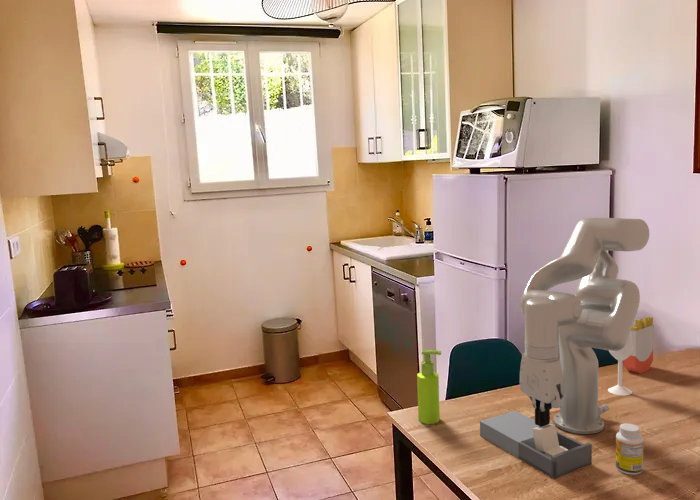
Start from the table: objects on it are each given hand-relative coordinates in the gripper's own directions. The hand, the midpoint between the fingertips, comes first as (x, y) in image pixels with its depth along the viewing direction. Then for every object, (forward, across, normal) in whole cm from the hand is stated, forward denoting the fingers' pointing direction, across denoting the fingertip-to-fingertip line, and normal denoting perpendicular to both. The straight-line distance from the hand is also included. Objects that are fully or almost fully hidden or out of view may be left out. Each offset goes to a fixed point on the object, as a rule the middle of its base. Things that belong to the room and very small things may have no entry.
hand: (542, 424), depth 137 cm
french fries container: (+9, -25, +68) cm, 73 cm away
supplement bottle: (+8, +15, +11) cm, 20 cm away
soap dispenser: (+8, -31, -11) cm, 34 cm away
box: (+8, +4, 0) cm, 9 cm away
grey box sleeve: (+8, -9, 0) cm, 12 cm away
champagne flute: (+9, -16, +48) cm, 51 cm away
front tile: (+5, +6, 0) cm, 7 cm away
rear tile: (+3, 0, -1) cm, 3 cm away
